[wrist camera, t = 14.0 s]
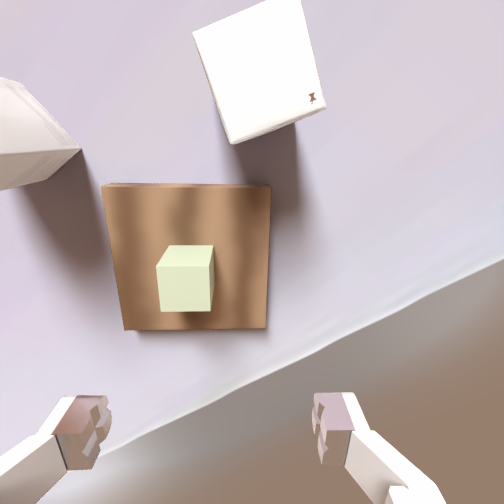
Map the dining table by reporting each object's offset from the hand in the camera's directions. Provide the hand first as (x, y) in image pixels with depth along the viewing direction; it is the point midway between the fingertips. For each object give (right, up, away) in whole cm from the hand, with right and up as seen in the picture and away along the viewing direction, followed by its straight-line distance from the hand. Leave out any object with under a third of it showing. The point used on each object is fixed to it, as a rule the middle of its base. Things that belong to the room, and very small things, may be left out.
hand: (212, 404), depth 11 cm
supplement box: (+2, +22, +20) cm, 30 cm away
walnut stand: (-6, +6, +25) cm, 27 cm away
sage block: (-5, +4, +23) cm, 24 cm away
